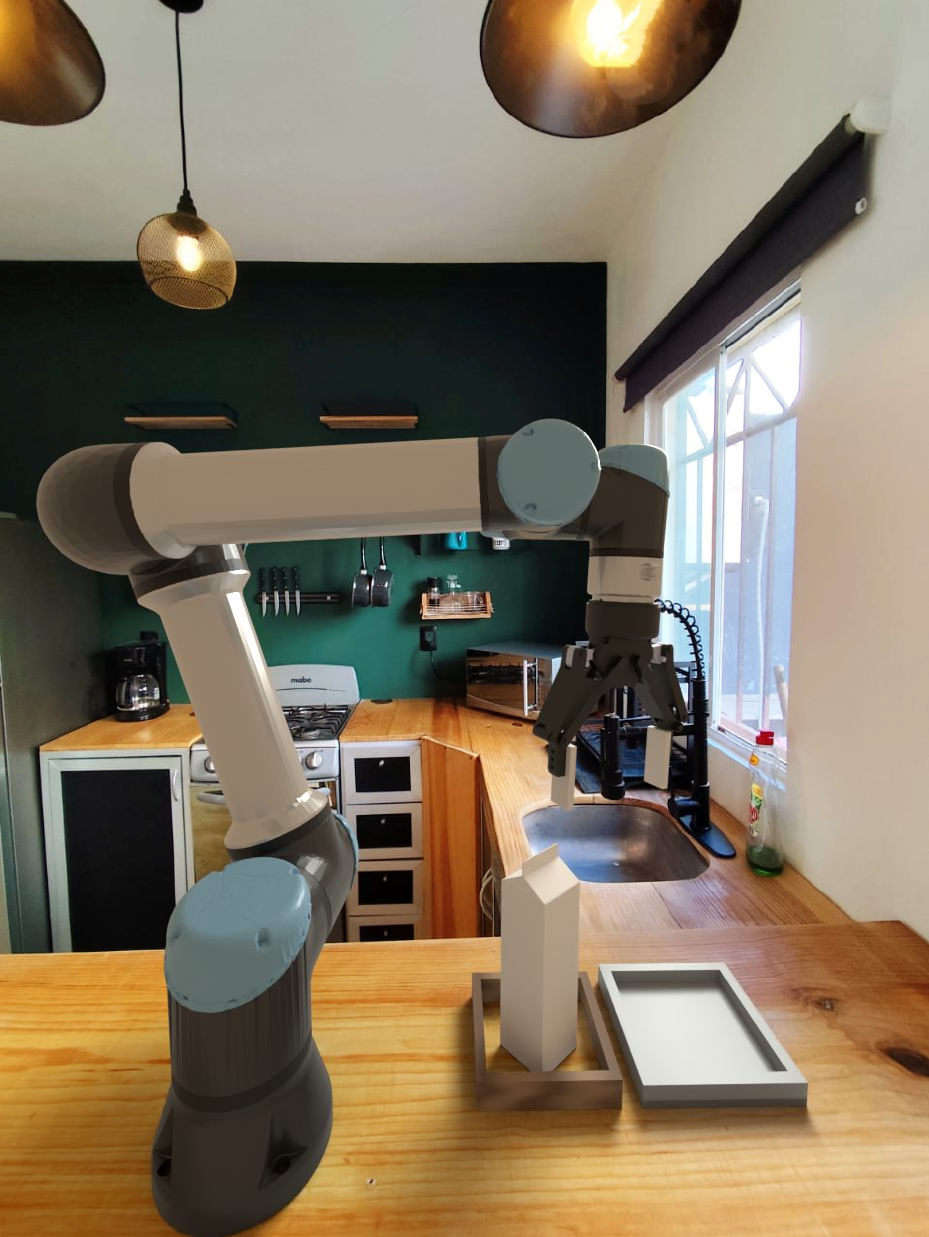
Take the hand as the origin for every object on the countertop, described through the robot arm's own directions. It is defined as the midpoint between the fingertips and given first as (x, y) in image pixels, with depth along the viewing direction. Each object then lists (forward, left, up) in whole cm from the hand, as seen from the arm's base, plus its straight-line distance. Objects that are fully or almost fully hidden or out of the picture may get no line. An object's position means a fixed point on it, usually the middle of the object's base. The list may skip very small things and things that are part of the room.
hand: (611, 794), depth 58 cm
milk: (-8, -2, -28) cm, 29 cm away
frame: (-8, -2, -27) cm, 29 cm away
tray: (+9, -1, -27) cm, 29 cm away
